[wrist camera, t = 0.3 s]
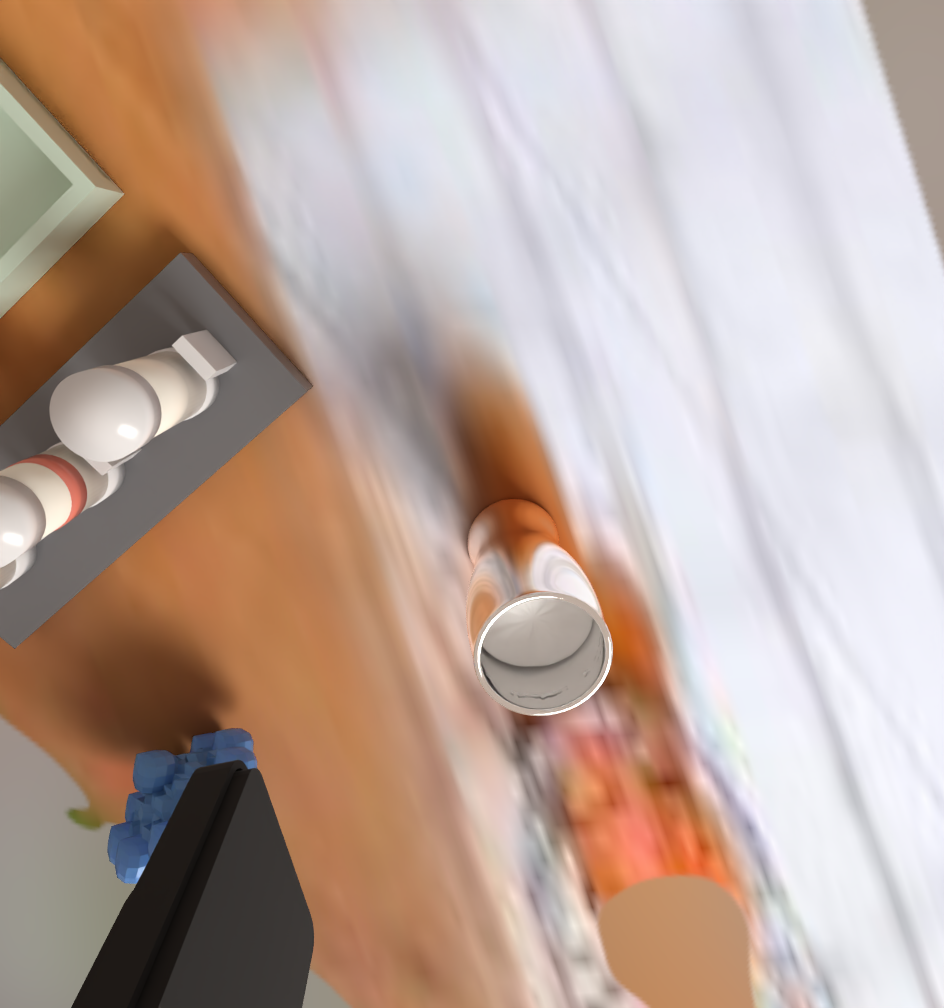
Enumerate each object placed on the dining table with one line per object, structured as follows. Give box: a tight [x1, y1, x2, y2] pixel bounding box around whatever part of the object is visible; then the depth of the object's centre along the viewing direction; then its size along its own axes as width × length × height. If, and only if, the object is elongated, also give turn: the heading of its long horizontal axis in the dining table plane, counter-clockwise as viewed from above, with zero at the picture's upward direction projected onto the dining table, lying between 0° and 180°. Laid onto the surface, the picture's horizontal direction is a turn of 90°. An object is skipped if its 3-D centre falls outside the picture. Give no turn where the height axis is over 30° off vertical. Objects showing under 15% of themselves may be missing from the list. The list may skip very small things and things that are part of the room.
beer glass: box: [466, 499, 613, 716], centre depth 40 cm, size 7×7×15 cm
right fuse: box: [49, 347, 219, 462], centre depth 36 cm, size 4×4×11 cm
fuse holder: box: [0, 253, 313, 649], centre depth 42 cm, size 10×26×6 cm, turn 130°
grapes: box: [108, 728, 257, 884], centre depth 45 cm, size 12×7×12 cm, turn 125°
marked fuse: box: [0, 442, 125, 568], centre depth 37 cm, size 4×4×11 cm
